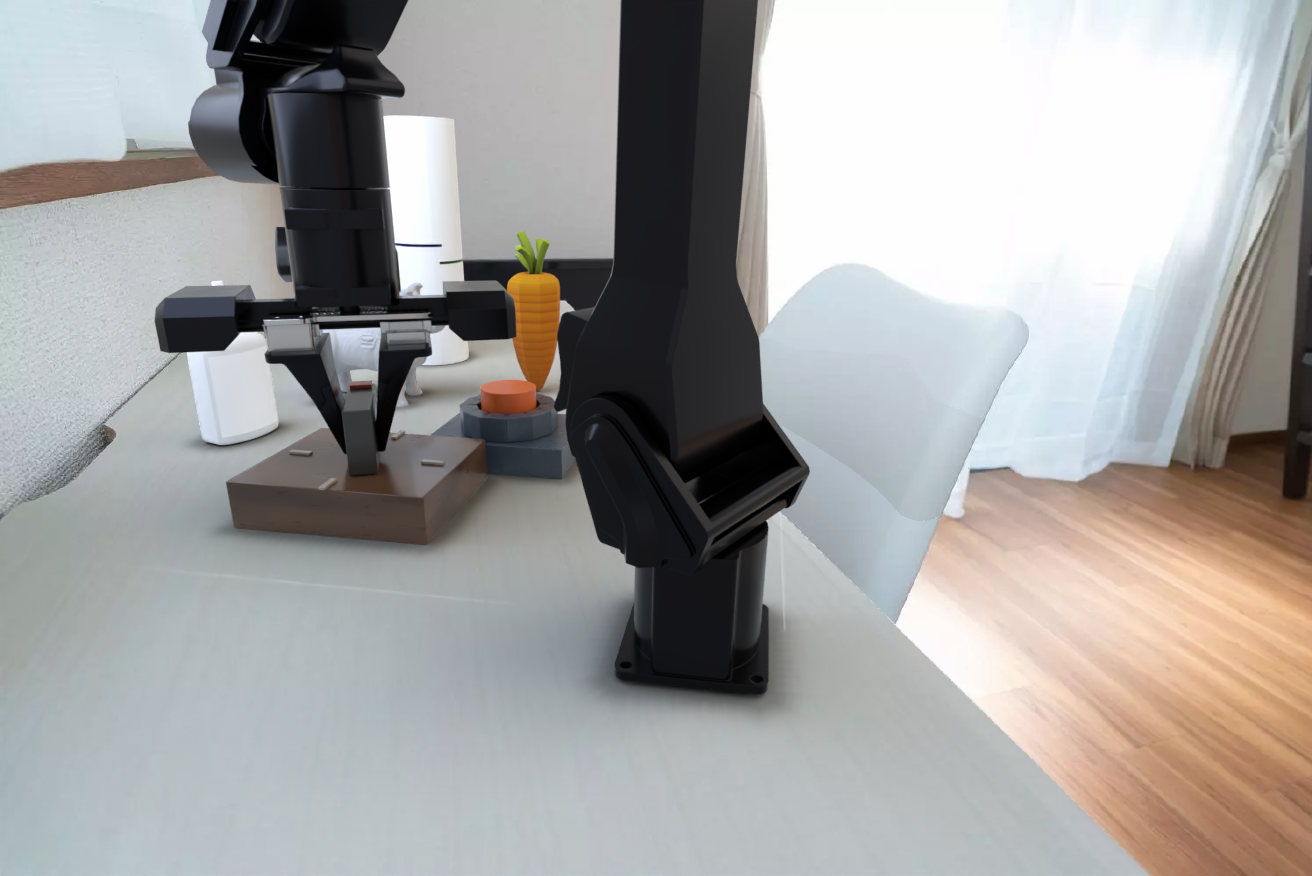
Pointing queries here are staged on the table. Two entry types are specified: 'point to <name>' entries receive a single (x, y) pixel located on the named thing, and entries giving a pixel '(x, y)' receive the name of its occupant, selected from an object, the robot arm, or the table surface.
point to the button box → (516, 438)
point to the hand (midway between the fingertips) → (365, 450)
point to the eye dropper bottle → (234, 390)
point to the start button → (508, 396)
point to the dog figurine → (370, 352)
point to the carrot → (535, 312)
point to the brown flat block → (360, 488)
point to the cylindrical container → (427, 214)
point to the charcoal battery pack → (361, 428)
